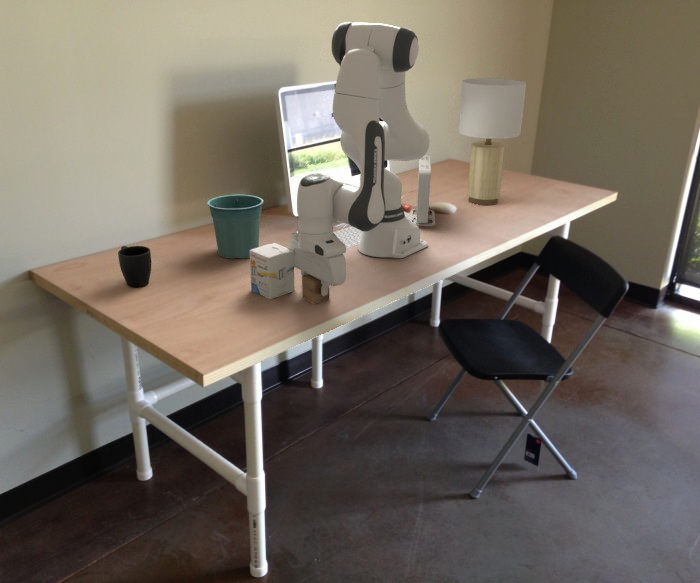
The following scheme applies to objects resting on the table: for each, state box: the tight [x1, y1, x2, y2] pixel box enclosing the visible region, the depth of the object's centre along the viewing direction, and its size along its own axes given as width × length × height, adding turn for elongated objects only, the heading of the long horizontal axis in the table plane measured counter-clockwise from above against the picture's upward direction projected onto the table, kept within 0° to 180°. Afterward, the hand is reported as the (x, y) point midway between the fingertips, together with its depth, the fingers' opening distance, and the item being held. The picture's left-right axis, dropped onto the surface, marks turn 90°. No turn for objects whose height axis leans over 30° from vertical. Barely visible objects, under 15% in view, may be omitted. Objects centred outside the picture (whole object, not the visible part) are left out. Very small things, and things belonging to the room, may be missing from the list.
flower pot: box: [207, 194, 264, 260], centre depth 203 cm, size 16×16×16 cm
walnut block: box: [301, 274, 330, 305], centre depth 175 cm, size 5×5×6 cm
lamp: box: [458, 77, 527, 206], centre depth 253 cm, size 23×23×44 cm
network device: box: [409, 154, 436, 227], centre depth 237 cm, size 26×9×20 cm, turn 175°
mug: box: [117, 245, 152, 289], centre depth 183 cm, size 8×12×10 cm
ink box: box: [249, 242, 296, 300], centre depth 178 cm, size 9×8×12 cm
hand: (315, 290), depth 175 cm, fingers closed on walnut block, 5 cm apart
